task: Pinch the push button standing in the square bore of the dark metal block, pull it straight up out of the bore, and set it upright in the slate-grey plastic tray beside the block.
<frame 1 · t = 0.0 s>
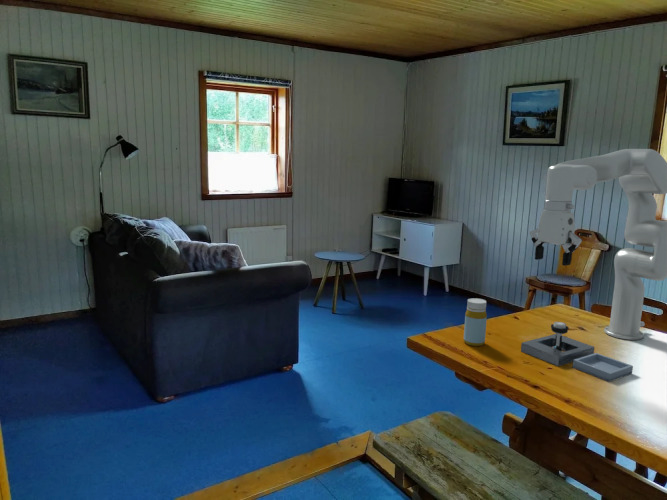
hand: (552, 262, 160), 31 cm above the table, tool pointing down, fingers open, 9 cm apart
tray: (601, 370, 157), on the table
push button: (556, 354, 170), on the table
bottle: (474, 343, 178), on the table
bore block: (556, 353, 170), on the table
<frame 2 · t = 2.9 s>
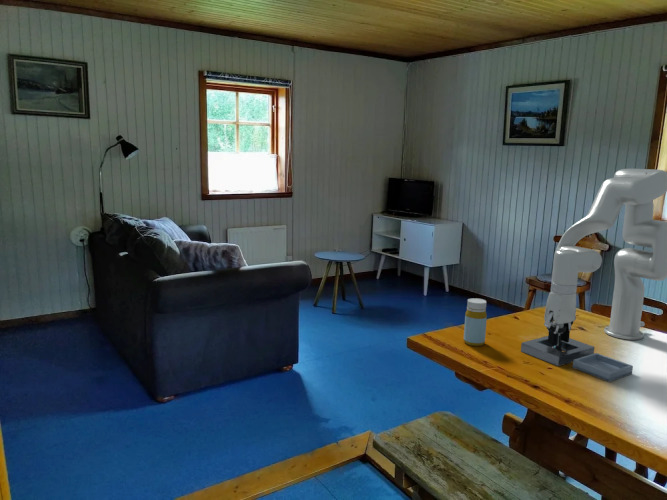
hand: (558, 342, 169), 4 cm above the table, tool pointing down, fingers closed on push button, 5 cm apart
push button: (556, 353, 170), on the table, touching gripper
everything else where it was.
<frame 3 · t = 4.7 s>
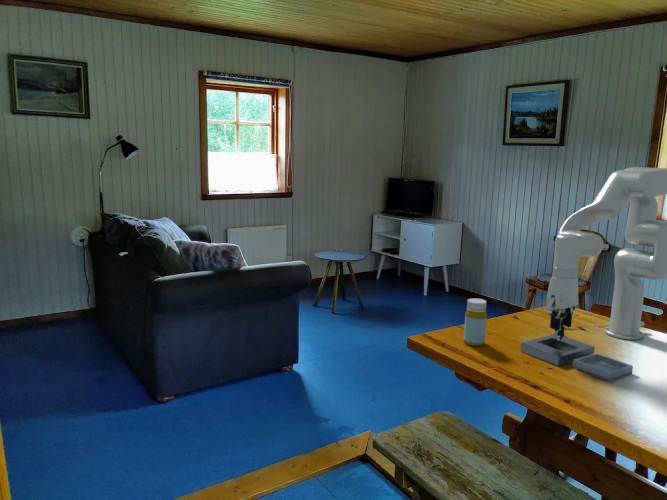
hand: (560, 327, 168), 9 cm above the table, tool pointing down, fingers closed on push button, 5 cm apart
push button: (559, 338, 169), point 5 cm above the table, touching gripper
everything else where it was.
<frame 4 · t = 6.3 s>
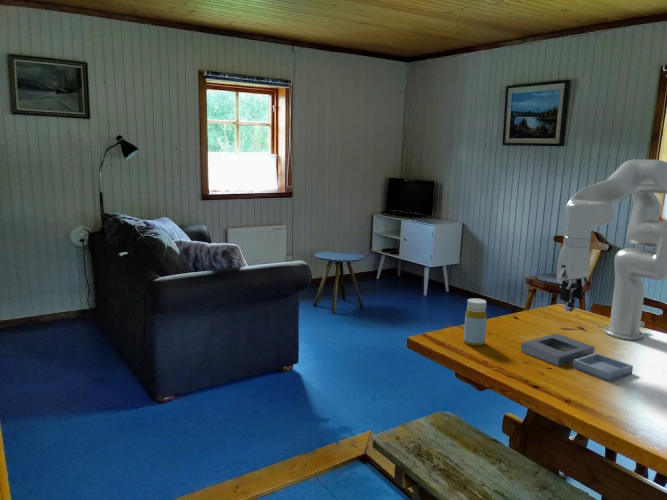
hand: (570, 298, 164), 19 cm above the table, tool pointing down, fingers closed on push button, 5 cm apart
push button: (569, 310, 165), point 15 cm above the table, touching gripper
everything else where it was.
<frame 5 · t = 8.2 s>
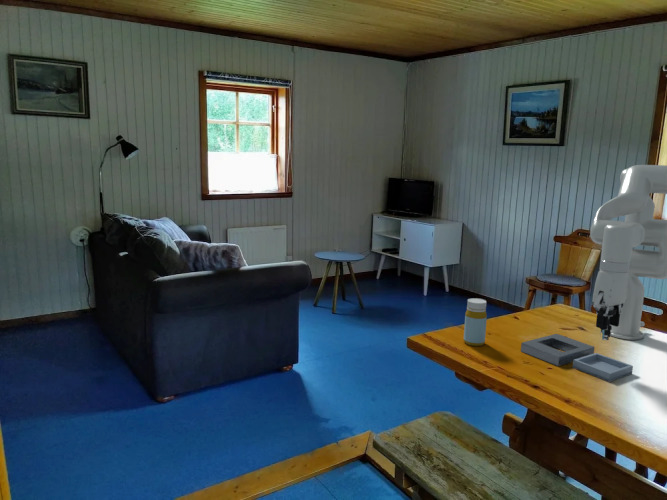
hand: (607, 326, 154), 14 cm above the table, tool pointing down, fingers closed on push button, 5 cm apart
push button: (605, 338, 155), point 10 cm above the table, touching gripper
everything else where it was.
when the fingers open (6 cm above the table, at t = 9.9 s): push button drops 1 cm, point 1 cm above the table.
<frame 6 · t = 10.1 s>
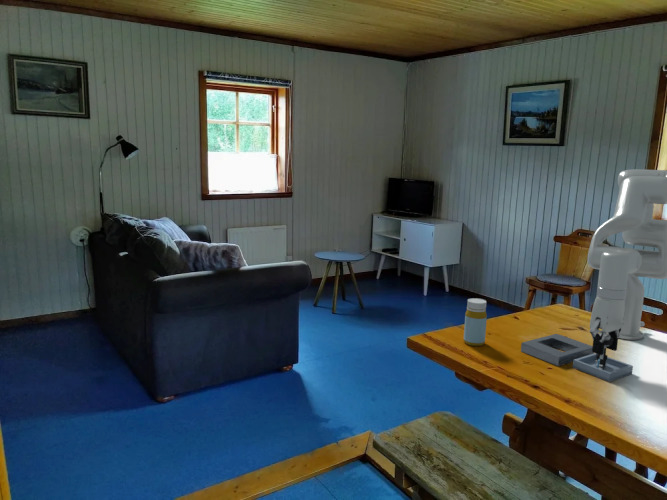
hand: (604, 350, 156), 6 cm above the table, tool pointing down, fingers open, 6 cm apart
push button: (600, 368, 157), point 1 cm above the table, touching gripper
everything else where it was.
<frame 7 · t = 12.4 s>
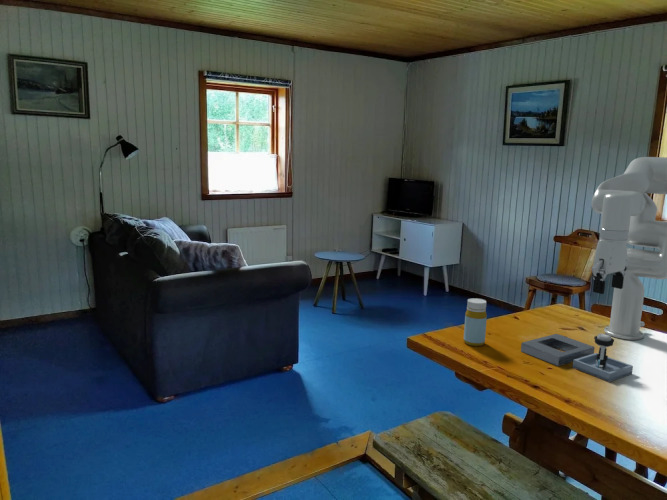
hand: (607, 290, 158), 23 cm above the table, tool pointing down, fingers open, 9 cm apart
push button: (600, 368, 157), point 1 cm above the table, touching tray
everything else where it was.
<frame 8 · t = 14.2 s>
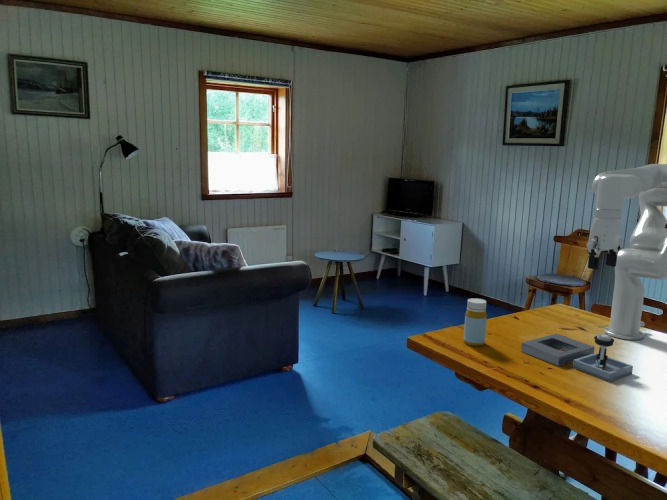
hand: (601, 267, 168), 28 cm above the table, tool pointing down, fingers open, 9 cm apart
nothing on the table moved.
at the end: push button 0.4 cm off-centre on the tray, point 0.6 cm above the tray's base; push button tilted 0°; the gripper is holding nothing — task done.
